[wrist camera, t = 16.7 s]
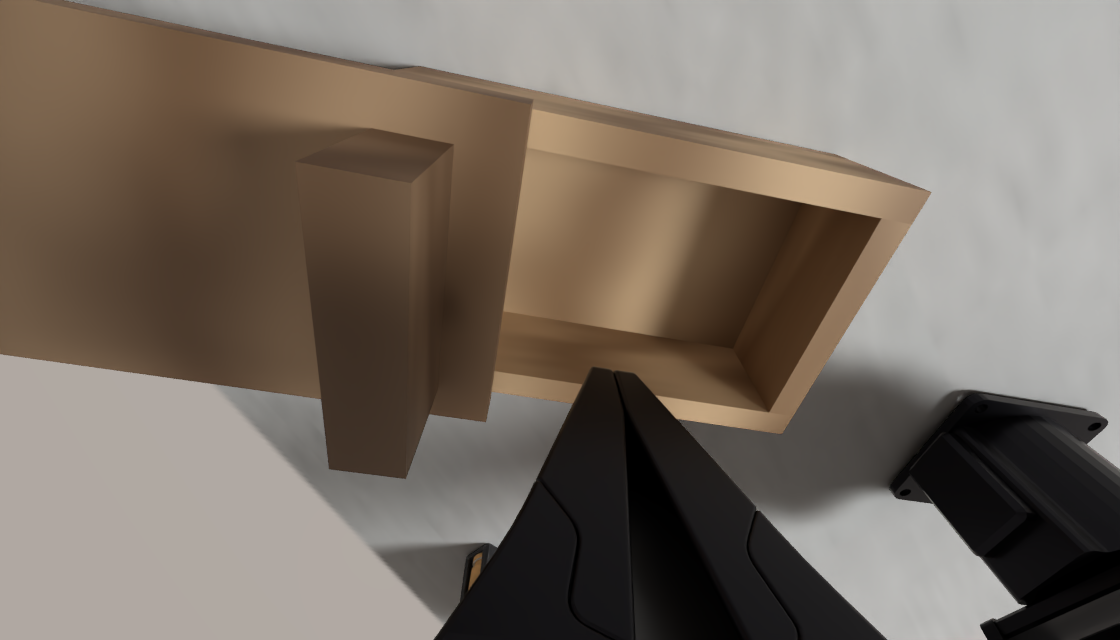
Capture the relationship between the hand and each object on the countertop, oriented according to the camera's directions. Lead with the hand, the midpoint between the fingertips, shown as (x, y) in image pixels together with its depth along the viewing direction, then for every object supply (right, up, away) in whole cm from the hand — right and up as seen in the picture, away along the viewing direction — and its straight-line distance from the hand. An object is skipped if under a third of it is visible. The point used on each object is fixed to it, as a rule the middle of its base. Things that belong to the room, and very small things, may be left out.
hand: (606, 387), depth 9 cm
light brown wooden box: (+1, +4, +7) cm, 8 cm away
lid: (-9, +3, +2) cm, 10 cm away
